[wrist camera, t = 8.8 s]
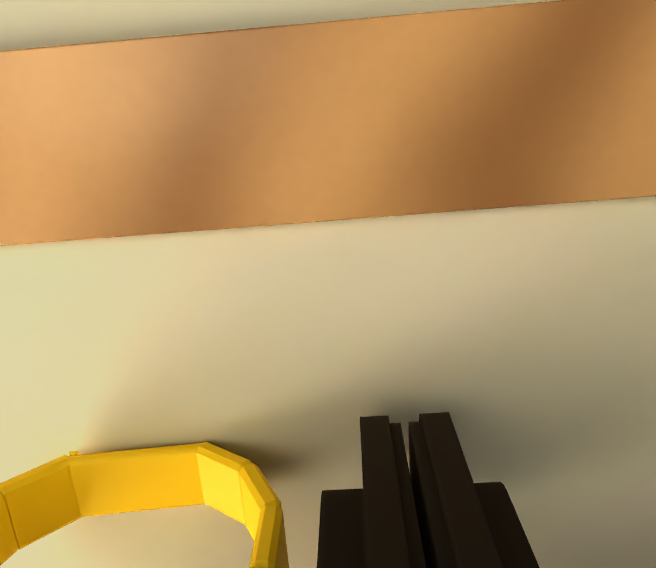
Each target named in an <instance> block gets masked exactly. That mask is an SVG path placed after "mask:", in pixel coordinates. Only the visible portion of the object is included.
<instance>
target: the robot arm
mask: <svg viewBox="0 0 656 568" xmlns="http://www.w3.org/2000/svg"><path fill="white" fill-rule="evenodd" d="M360 431H361V452H362V472H363V489H345V490H324V491H322V495H321V510H320V526H319V543H318V559H317V568H540V567H539V565H538V563H537V560H536V558H535V556H534V553H533V551H532V549H531V546H530V544H529V542H528V539H527V537H526V535H525V532H524V530H523V528H522V525H521V523H520V521H519V518H518V516H517V514H516V511H515V509H514V506H513V504H512V502H511V499H510V497H509V495H508V492H507V490H506V488H505V486H504V484H503V483H501V482H491V483H473V480H472V477H471V474H470V471H469V468H468V466H467V463H466V460H465V457H464V454H463V451H462V448H461V445H460V442H459V440H458V437H457V434H456V431H455V428H454V425H453V422H452V419H451V416H450V414H449V412H441V413H423V414H419V422H409V423H408V432H409V457H410V474H409V468H408V462H407V457H406V451H405V446H404V440H403V434H402V429H401V424H400V423H389V417H388V415H386V416H367V417H360Z"/></svg>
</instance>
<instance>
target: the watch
mask: <svg viewBox="0 0 656 568" xmlns="http://www.w3.org/2000/svg"><path fill="white" fill-rule="evenodd" d="M69 453H70V456H67V455H64V456H62V457H59V458H57V459H55V460H52V461H50V462H48V463H46V464H43V465H41V466H39V467H37V468H34V469H32V470H30V471H28V472H25V473H23V474H21V475H18V476H16V477H14V478H12V479H9V480H7V481H5V482H3V483H0V565H1V564H3V563H4V562H5V561H6V560H7V559H8V558H9V557H11V556H12V555H13V554H14V553H15V552H16V551H17V550H18V549H21V548H23V547H25V546H27V545H29V544H31V543H33V542H35V541H37V540H38V539H40V538H42V537H44V536H46V535H48V534H50V533H52V532H54V531H56V530H58V529H60V528H62V527H63V526H65V525H67V524H69V523H71V522H73V521H75V520H77V519H79V518H81V517H84V516H94V515H104V514H113V513H123V512H132V511H142V510H152V509H161V508H171V507H180V506H190V505H200V504H207V505H209V506H210V507H212V508H214V509H216V510H218V511H220V512H222V513H224V514H226V515H228V516H229V517H231V518H233V519H235V520H237V521H239V522H241V523H243V524H245V525H246V526H247V528H248V530H249V532H250V534H251V536H252V538H253V540H254V547H253V552H252V557H251V562H250V568H289V563H288V554H287V546H286V537H285V528H284V519H283V511H282V509H281V502H280V500H279V499H278V497H277V496H276V494H275V492H274V491H273V489H272V488H271V486H270V485H269V483H268V481H267V480H266V478H265V477H264V475H263V474H262V472H261V471H260V469H259V467H258V466H257V465H255V464H253V463H252V461H250V460H248V459H245V458H243V457H241V456H238V455H236V454H233V453H231V452H229V451H226V450H224V449H222V448H219V447H217V446H215V445H212V444H210V443H208V442H204V443H195V444H185V445H175V446H165V447H155V448H145V449H135V450H125V451H115V452H105V453H95V454H85V455H78V451H74V452H69Z"/></svg>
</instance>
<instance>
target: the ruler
mask: <svg viewBox="0 0 656 568" xmlns="http://www.w3.org/2000/svg"><path fill="white" fill-rule="evenodd" d="M647 196H656V0H559V1H548V2H537V3H526V4H514V5H503V6H492V7H481V8H470V9H459V10H448V11H437V12H426V13H415V14H404V15H393V16H382V17H371V18H360V19H349V20H338V21H327V22H316V23H305V24H293V25H282V26H271V27H260V28H249V29H238V30H227V31H216V32H205V33H194V34H183V35H172V36H161V37H150V38H139V39H128V40H117V41H106V42H95V43H84V44H72V45H61V46H50V47H39V48H28V49H17V50H6V51H0V246H2V245H16V244H29V243H42V242H55V241H68V240H81V239H94V238H108V237H121V236H134V235H147V234H160V233H173V232H187V231H200V230H213V229H226V228H239V227H252V226H266V225H279V224H292V223H305V222H318V221H331V220H344V219H358V218H371V217H384V216H397V215H410V214H423V213H437V212H450V211H463V210H476V209H489V208H502V207H515V206H529V205H542V204H555V203H568V202H581V201H594V200H608V199H621V198H634V197H647Z"/></svg>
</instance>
